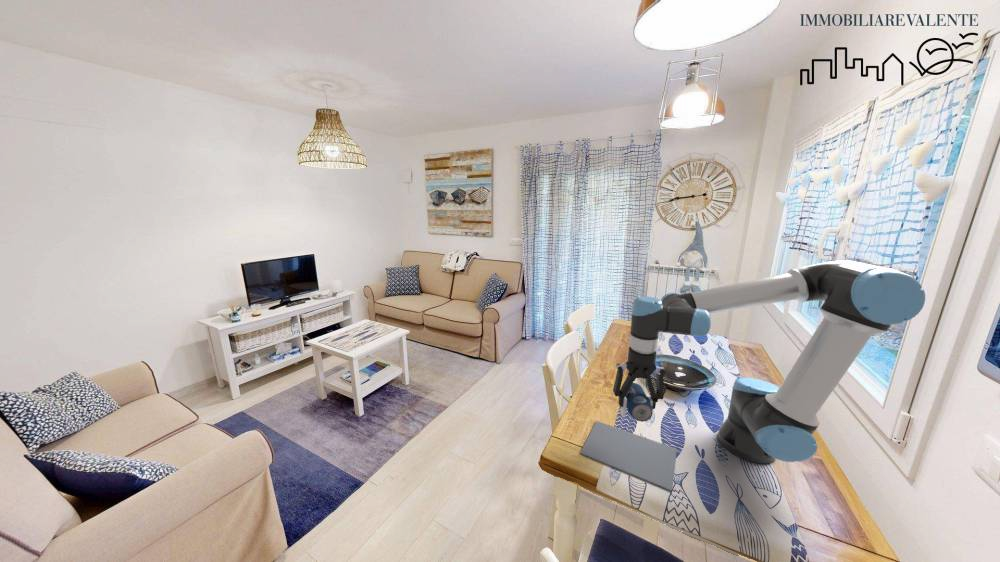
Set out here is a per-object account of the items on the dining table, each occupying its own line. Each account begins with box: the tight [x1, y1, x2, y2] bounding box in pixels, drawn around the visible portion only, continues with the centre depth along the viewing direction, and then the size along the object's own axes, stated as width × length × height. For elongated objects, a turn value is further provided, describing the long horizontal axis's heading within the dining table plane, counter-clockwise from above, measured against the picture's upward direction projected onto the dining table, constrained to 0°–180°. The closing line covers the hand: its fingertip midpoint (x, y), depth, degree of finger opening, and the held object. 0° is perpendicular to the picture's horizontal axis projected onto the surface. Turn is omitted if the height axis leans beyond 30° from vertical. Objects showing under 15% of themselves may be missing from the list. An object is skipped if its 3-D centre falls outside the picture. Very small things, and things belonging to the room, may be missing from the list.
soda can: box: [626, 382, 654, 423], centre depth 98 cm, size 7×7×12 cm
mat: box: [580, 420, 678, 492], centre depth 101 cm, size 26×18×1 cm
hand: (635, 415), depth 98 cm, fingers closed on soda can, 7 cm apart
